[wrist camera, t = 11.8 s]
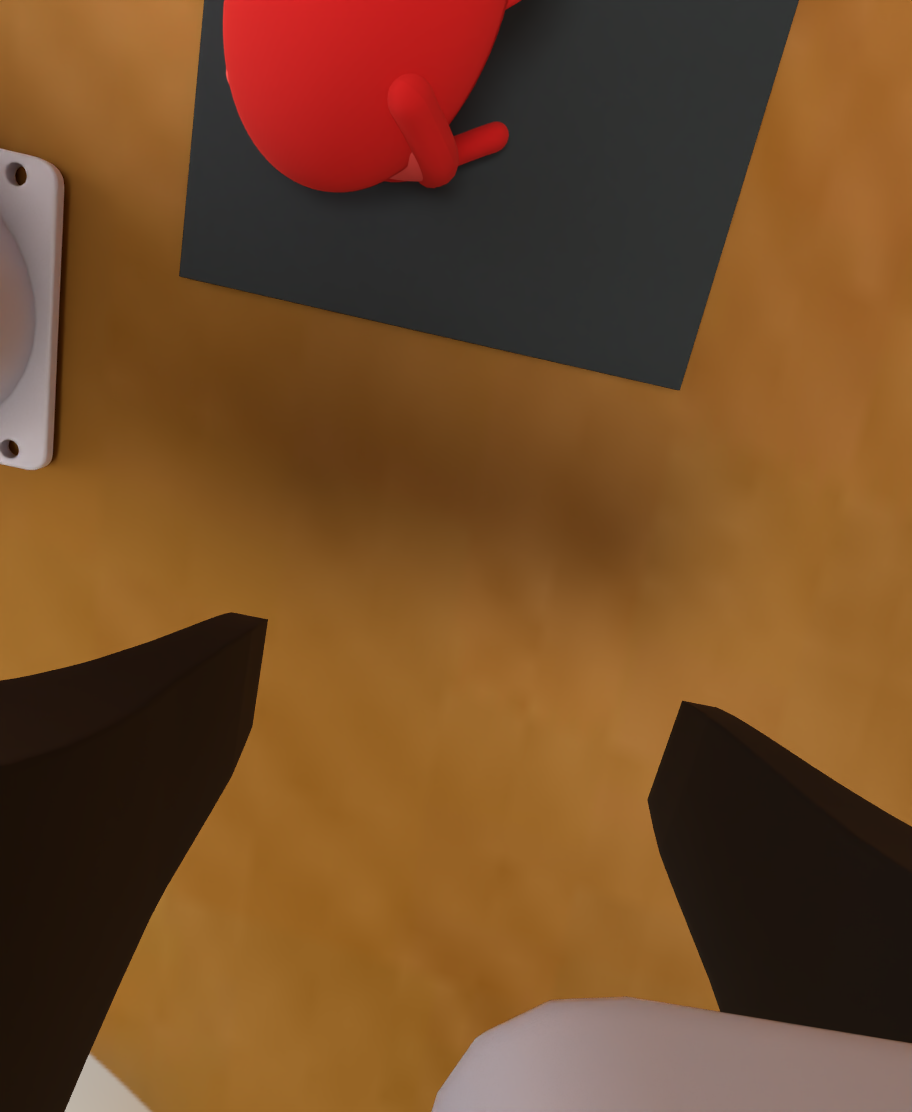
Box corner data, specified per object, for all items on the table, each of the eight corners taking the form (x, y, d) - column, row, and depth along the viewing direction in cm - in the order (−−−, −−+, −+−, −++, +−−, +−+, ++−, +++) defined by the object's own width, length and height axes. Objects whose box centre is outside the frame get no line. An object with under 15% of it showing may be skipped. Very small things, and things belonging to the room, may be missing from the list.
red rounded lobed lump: (385, 283, 18) (354, 252, 12) (211, 100, 17) (86, -28, 11) (611, 35, 16) (695, -134, 11) (436, -188, 15) (427, -515, 9)
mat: (180, 276, 18) (179, 276, 18) (225, -217, 15) (223, -221, 15) (678, 390, 19) (679, 390, 19) (813, -54, 16) (815, -55, 16)
